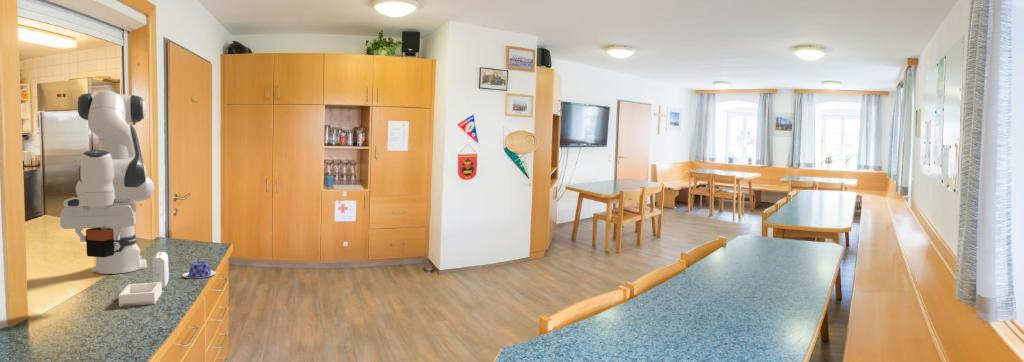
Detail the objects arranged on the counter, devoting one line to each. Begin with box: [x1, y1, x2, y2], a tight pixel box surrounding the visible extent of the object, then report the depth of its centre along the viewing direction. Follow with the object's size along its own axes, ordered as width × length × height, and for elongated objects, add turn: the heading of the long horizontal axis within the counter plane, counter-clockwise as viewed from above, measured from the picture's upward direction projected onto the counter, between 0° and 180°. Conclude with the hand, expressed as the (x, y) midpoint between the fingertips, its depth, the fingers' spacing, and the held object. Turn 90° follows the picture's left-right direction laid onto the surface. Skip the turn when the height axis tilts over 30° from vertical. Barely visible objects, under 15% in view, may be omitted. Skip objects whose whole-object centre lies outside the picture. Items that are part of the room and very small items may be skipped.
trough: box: [118, 282, 163, 308], centre depth 187 cm, size 13×10×4 cm
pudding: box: [181, 261, 217, 279], centre depth 219 cm, size 12×12×5 cm
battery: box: [85, 227, 114, 258], centre depth 182 cm, size 4×7×10 cm, turn 79°
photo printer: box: [152, 251, 170, 289], centre depth 205 cm, size 10×4×12 cm, turn 25°
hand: (100, 240), depth 182 cm, fingers closed on battery, 8 cm apart
